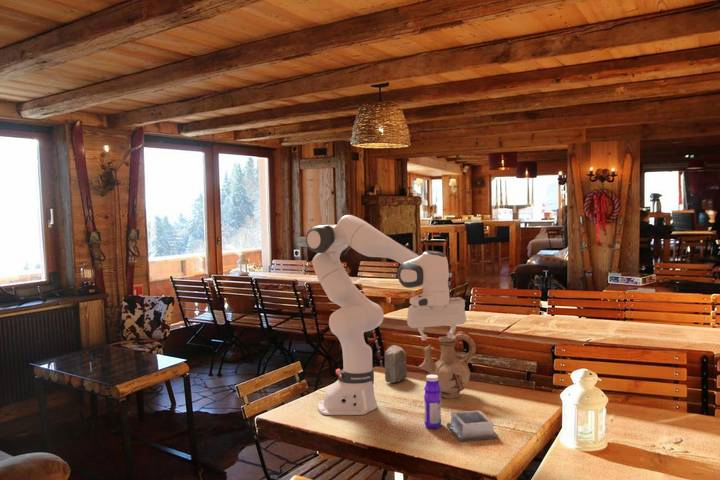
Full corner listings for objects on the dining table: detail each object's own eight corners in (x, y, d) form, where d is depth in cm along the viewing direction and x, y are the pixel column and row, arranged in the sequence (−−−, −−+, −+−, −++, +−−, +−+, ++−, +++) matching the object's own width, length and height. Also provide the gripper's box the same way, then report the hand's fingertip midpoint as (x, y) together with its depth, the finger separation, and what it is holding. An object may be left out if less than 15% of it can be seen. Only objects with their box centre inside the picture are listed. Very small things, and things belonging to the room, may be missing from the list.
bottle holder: (459, 441, 177) (459, 426, 176) (446, 426, 189) (446, 412, 189) (498, 438, 179) (498, 423, 178) (482, 423, 192) (482, 409, 191)
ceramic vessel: (444, 385, 234) (444, 326, 233) (483, 394, 221) (483, 333, 220) (417, 395, 221) (416, 334, 220) (457, 407, 208) (456, 341, 207)
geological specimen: (395, 385, 235) (395, 350, 234) (383, 383, 238) (382, 348, 238) (407, 378, 244) (407, 345, 243) (395, 376, 247) (394, 343, 247)
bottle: (440, 430, 186) (440, 379, 185) (423, 429, 187) (423, 378, 186) (441, 422, 193) (441, 373, 192) (425, 421, 194) (424, 372, 193)
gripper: (460, 295, 193) (461, 334, 194) (405, 299, 189) (406, 339, 189) (468, 297, 187) (469, 338, 188) (411, 301, 182) (412, 343, 183)
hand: (437, 338), depth 188 cm, fingers open, 8 cm apart
